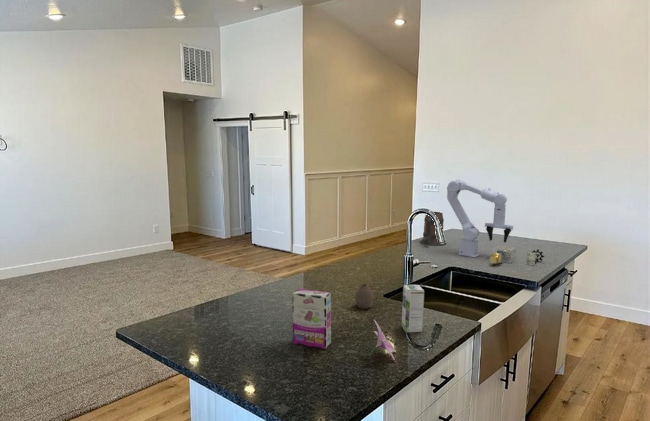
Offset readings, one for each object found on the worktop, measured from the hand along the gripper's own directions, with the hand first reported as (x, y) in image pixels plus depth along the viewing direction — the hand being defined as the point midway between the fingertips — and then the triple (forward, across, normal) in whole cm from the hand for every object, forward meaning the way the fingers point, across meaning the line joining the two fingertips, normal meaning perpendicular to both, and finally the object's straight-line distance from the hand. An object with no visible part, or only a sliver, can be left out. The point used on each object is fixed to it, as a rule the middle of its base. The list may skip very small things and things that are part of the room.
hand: (497, 241), depth 235 cm
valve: (+10, +18, +4) cm, 21 cm away
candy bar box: (+10, -7, -144) cm, 145 cm away
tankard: (+10, -44, +10) cm, 46 cm away
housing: (+10, +4, -1) cm, 11 cm away
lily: (+10, +14, -137) cm, 138 cm away
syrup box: (+10, +11, -114) cm, 115 cm away
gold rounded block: (+10, +4, -13) cm, 17 cm away
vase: (+10, -13, -108) cm, 109 cm away
